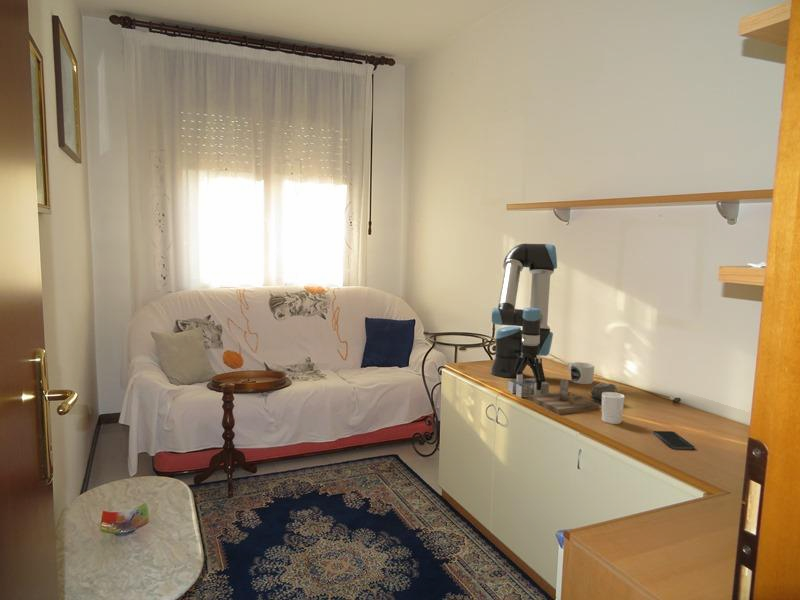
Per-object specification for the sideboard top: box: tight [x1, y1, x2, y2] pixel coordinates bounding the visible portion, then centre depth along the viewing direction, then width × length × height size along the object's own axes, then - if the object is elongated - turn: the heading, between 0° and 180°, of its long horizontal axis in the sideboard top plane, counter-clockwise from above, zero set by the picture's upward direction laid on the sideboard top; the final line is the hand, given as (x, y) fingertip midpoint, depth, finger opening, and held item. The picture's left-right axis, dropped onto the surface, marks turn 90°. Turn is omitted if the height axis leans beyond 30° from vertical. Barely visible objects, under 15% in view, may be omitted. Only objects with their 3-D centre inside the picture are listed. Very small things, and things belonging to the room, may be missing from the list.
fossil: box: [590, 382, 618, 406], centre depth 229 cm, size 11×9×10 cm
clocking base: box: [528, 379, 600, 415], centre depth 224 cm, size 19×20×10 cm
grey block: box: [507, 377, 550, 398], centre depth 240 cm, size 14×10×5 cm
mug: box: [566, 361, 595, 385], centre depth 262 cm, size 13×10×8 cm
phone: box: [652, 430, 695, 451], centre depth 186 cm, size 8×1×15 cm
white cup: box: [601, 392, 626, 425], centre depth 205 cm, size 8×8×10 cm
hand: (527, 392), depth 240 cm, fingers open, 12 cm apart
